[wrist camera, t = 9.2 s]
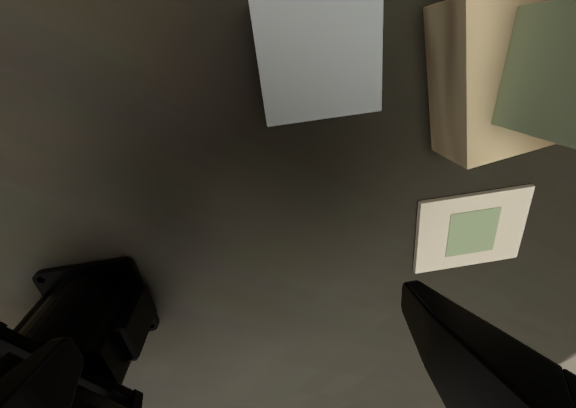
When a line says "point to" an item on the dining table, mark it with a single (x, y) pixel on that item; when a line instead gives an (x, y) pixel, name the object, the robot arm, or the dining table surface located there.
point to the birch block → (470, 80)
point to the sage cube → (541, 74)
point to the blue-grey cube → (318, 58)
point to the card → (470, 228)
